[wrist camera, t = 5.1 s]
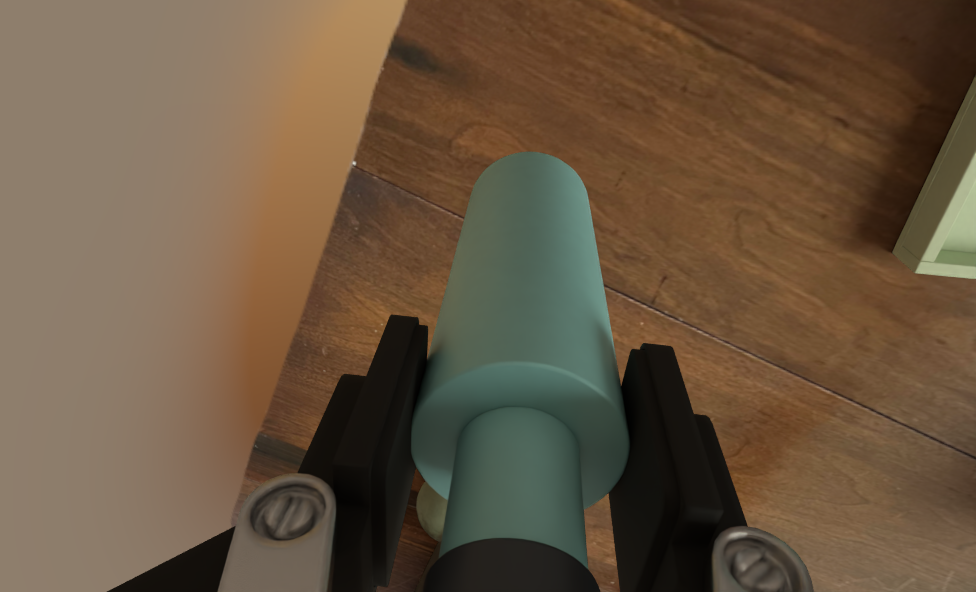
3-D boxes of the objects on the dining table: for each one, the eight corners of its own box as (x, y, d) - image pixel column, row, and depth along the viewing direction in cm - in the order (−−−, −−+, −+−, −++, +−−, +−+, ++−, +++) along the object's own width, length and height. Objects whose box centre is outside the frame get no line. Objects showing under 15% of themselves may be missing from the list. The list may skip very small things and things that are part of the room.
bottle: (473, 144, 19) (347, 548, 7) (598, 157, 19) (707, 592, 7) (465, 255, 21) (357, 719, 9) (578, 267, 21) (631, 754, 9)
